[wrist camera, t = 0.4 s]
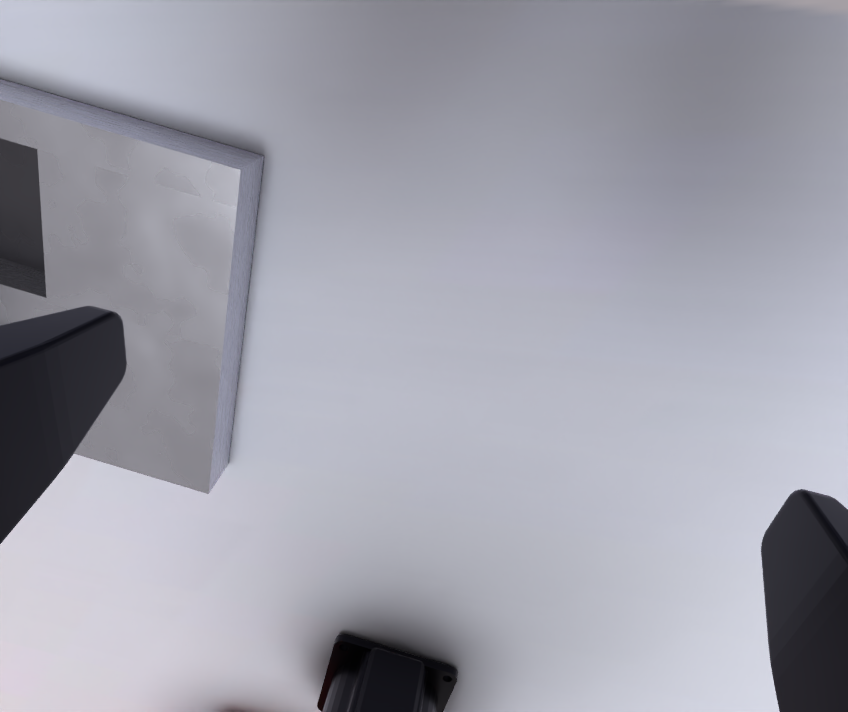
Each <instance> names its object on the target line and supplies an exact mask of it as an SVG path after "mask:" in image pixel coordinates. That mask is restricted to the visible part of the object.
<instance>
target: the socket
mask: <svg viewBox="0 0 848 712" xmlns="http://www.w3.org/2000/svg"><path fill="white" fill-rule="evenodd" d="M263 161H264V156H262V155H259V154H256V153H252V152H249V151H245V150H242V149H239V148H235V147H232V146H228V145H225V144H221V143H218V142H215V141H211V140H208V139H204V138H201V137H198V136H194V135H191V134H187V133H184V132H180V131H177V130H174V129H170V128H167V127H163V126H160V125H157V124H153V123H150V122H146V121H143V120H139V119H136V118H133V117H129V116H126V115H122V114H119V113H116V112H112V111H109V110H105V109H102V108H98V107H95V106H92V105H88V104H85V103H81V102H78V101H75V100H71V99H68V98H64V97H61V96H58V95H54V94H51V93H47V92H44V91H40V90H37V89H34V88H30V87H27V86H23V85H20V84H17V83H13V82H10V81H6V80H3V79H0V325H4V324H9V323H13V322H17V321H22V320H26V319H31V318H35V317H39V316H44V315H48V314H52V313H57V312H61V311H66V310H70V309H74V308H79V307H83V306H95V307H99V308H103V309H106V310H110V311H114V312H116V313H118V314H119V315H120V316H121V318H122V320H123V326H124V337H125V348H126V359H127V366H126V372H125V375H124V377H123V380H122V381H121V383H120V385H119V386H118V388H117V389H116V391H115V392H114V394H113V395H112V397H111V398H110V400H109V401H108V403H107V404H106V406H105V407H104V409H103V410H102V412H101V413H100V415H99V416H98V418H97V419H96V421H95V422H94V424H93V425H92V427H91V428H90V430H89V431H88V433H87V434H86V436H85V437H84V439H83V440H82V442H81V443H80V445H79V446H78V448H77V449H76V451H75V452H74V454H77V455H81V456H84V457H87V458H91V459H94V460H97V461H101V462H104V463H107V464H111V465H114V466H117V467H121V468H124V469H127V470H131V471H134V472H137V473H141V474H144V475H147V476H151V477H154V478H157V479H161V480H164V481H167V482H171V483H174V484H177V485H181V486H184V487H187V488H191V489H194V490H197V491H201V492H204V493H207V494H209V492H210V491H211V489H212V488H213V486H214V485H215V483H216V482H217V480H218V479H219V477H220V476H221V474H222V473H223V471H224V470H225V468H226V467H227V465H228V461H229V453H230V444H231V436H232V427H233V419H234V410H235V401H236V393H237V384H238V376H239V367H240V358H241V350H242V341H243V333H244V324H245V315H246V307H247V298H248V290H249V281H250V272H251V264H252V255H253V247H254V238H255V229H256V221H257V212H258V204H259V195H260V186H261V178H262V169H263Z"/></svg>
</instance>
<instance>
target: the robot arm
mask: <svg viewBox="0 0 848 712" xmlns="http://www.w3.org/2000/svg"><path fill="white" fill-rule="evenodd" d="M126 366H127V359H126V348H125V337H124V326H123V320H122V318H121V316H120V315H119V314H118V313H116V312H114V311H110V310H106V309H103V308H99V307H95V306H83V307H79V308H74V309H70V310H66V311H61V312H57V313H52V314H48V315H44V316H39V317H35V318H31V319H26V320H22V321H17V322H13V323H9V324H4V325H0V544H1V543H2V542H3V540H4V539H5V538H6V537H7V536H8V534H9V533H10V532H11V531H12V530H13V528H14V527H15V526H16V525H17V524H18V522H19V521H20V520H21V519H22V518H23V516H24V515H25V514H26V513H27V512H28V510H29V509H30V508H31V507H32V506H33V504H34V503H35V502H36V501H37V500H38V498H39V497H40V496H41V495H42V494H43V492H44V491H45V490H46V489H47V488H48V486H49V485H50V484H51V483H52V482H53V480H54V479H55V478H56V477H57V475H58V474H59V473H60V471H61V470H62V469H63V468H64V466H65V465H66V464H67V462H68V461H69V459H70V458H71V457H72V455H73V454H74V452H75V451H76V449H77V448H78V446H79V445H80V443H81V442H82V440H83V439H84V437H85V436H86V434H87V433H88V431H89V430H90V428H91V427H92V425H93V424H94V422H95V421H96V419H97V418H98V416H99V415H100V413H101V412H102V410H103V409H104V407H105V406H106V404H107V403H108V401H109V400H110V398H111V397H112V395H113V394H114V392H115V391H116V389H117V388H118V386H119V385H120V383H121V381H122V380H123V377H124V375H125V372H126ZM761 555H762V568H763V581H764V593H765V606H766V618H767V631H768V644H769V653H770V661H771V668H772V674H773V679H774V685H775V690H776V695H777V700H778V705H779V711H780V712H848V510H847V509H846V508H845V507H844V506H843V505H842V504H841V503H839V502H838V501H837V500H836V499H834V498H832V497H830V496H827V495H823V494H819V493H815V492H812V491H808V490H804V489H800V490H796V491H794V492H793V493H792V494H791V495H790V496H789V497H788V499H787V500H786V502H785V503H784V505H783V506H782V508H781V509H780V511H779V512H778V514H777V515H776V517H775V518H774V520H773V521H772V523H771V524H770V526H769V527H768V529H767V530H766V532H765V534H764V537H763V540H762V546H761ZM457 675H458V672H457V670H456V669H455V668H454V667H452V666H449V665H446V664H442V663H439V662H436V661H432V660H429V659H426V658H422V657H419V656H416V655H413V654H409V653H406V652H403V651H399V650H396V649H393V648H389V647H386V646H383V645H379V644H376V643H373V642H370V641H366V640H363V639H360V638H356V637H353V636H350V635H346V634H341V635H338V636H337V638H336V640H335V644H334V647H333V651H332V654H331V658H330V661H329V665H328V669H327V672H326V676H325V679H324V683H323V686H322V690H321V694H320V697H319V701H318V704H317V707H318V709H319V710H321V711H322V712H443V710H444V708H445V706H446V704H447V702H448V699H449V697H450V695H451V693H452V691H453V689H454V686H455V684H456V682H457Z"/></svg>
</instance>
